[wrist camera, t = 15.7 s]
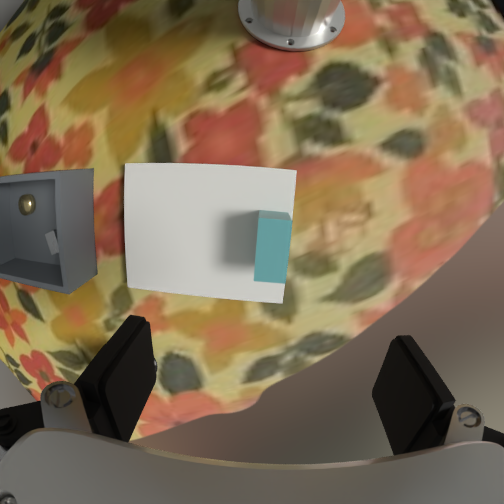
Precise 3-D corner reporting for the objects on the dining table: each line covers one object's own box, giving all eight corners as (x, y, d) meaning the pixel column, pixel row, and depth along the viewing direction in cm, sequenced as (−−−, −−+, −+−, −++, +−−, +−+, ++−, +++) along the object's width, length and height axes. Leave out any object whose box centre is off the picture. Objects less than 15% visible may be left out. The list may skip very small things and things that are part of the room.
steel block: (51, 231, 33) (44, 234, 32) (59, 227, 33) (53, 230, 31) (57, 252, 34) (51, 255, 32) (66, 248, 34) (60, 251, 32)
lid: (132, 163, 31) (103, 163, 25) (294, 170, 31) (302, 170, 24) (134, 281, 36) (109, 304, 29) (281, 296, 35) (284, 325, 28)
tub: (10, 175, 32) (-21, 180, 25) (93, 168, 31) (60, 171, 25) (16, 260, 36) (-12, 274, 29) (97, 273, 35) (69, 294, 28)
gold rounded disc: (23, 194, 32) (18, 195, 30) (35, 193, 32) (30, 194, 30) (24, 213, 32) (18, 215, 31) (36, 214, 32) (31, 215, 31)
